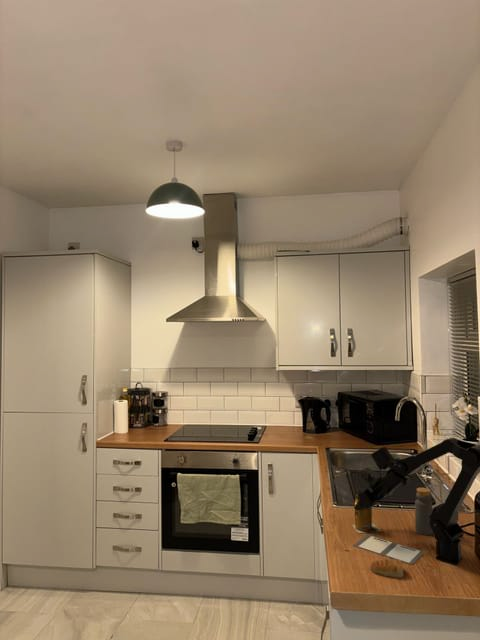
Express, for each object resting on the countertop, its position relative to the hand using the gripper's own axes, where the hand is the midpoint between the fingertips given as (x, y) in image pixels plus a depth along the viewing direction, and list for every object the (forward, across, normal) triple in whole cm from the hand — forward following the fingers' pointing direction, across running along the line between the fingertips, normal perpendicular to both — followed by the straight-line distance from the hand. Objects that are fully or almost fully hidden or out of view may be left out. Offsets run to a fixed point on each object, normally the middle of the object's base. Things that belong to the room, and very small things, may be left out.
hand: (360, 505), depth 169 cm
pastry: (-8, +24, +20) cm, 32 cm away
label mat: (-4, +10, +16) cm, 19 cm away
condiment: (+5, -1, +7) cm, 9 cm away
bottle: (-7, -12, +19) cm, 24 cm away
